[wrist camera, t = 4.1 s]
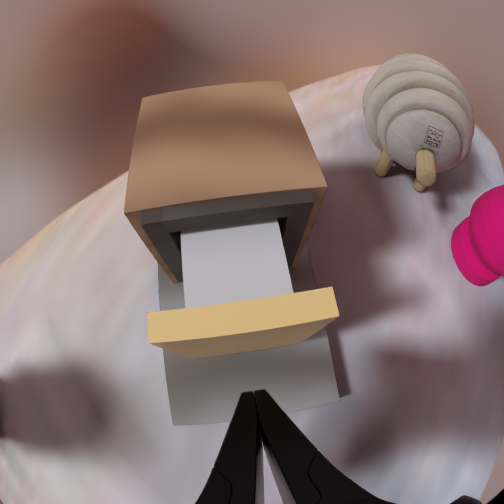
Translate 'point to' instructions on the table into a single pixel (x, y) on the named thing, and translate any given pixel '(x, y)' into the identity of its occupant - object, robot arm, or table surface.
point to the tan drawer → (238, 295)
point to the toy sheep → (418, 117)
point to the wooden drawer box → (229, 212)
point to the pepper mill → (481, 239)
